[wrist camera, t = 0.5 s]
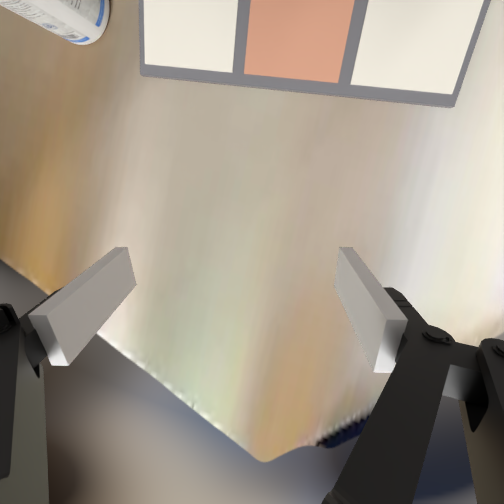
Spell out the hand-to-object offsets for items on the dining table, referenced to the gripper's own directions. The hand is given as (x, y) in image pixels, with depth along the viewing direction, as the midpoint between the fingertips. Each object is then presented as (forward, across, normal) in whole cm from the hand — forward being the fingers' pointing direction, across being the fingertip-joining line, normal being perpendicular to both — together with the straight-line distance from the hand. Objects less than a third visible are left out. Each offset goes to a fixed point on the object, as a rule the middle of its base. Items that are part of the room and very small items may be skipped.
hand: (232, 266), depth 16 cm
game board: (+28, +6, +20) cm, 35 cm away
